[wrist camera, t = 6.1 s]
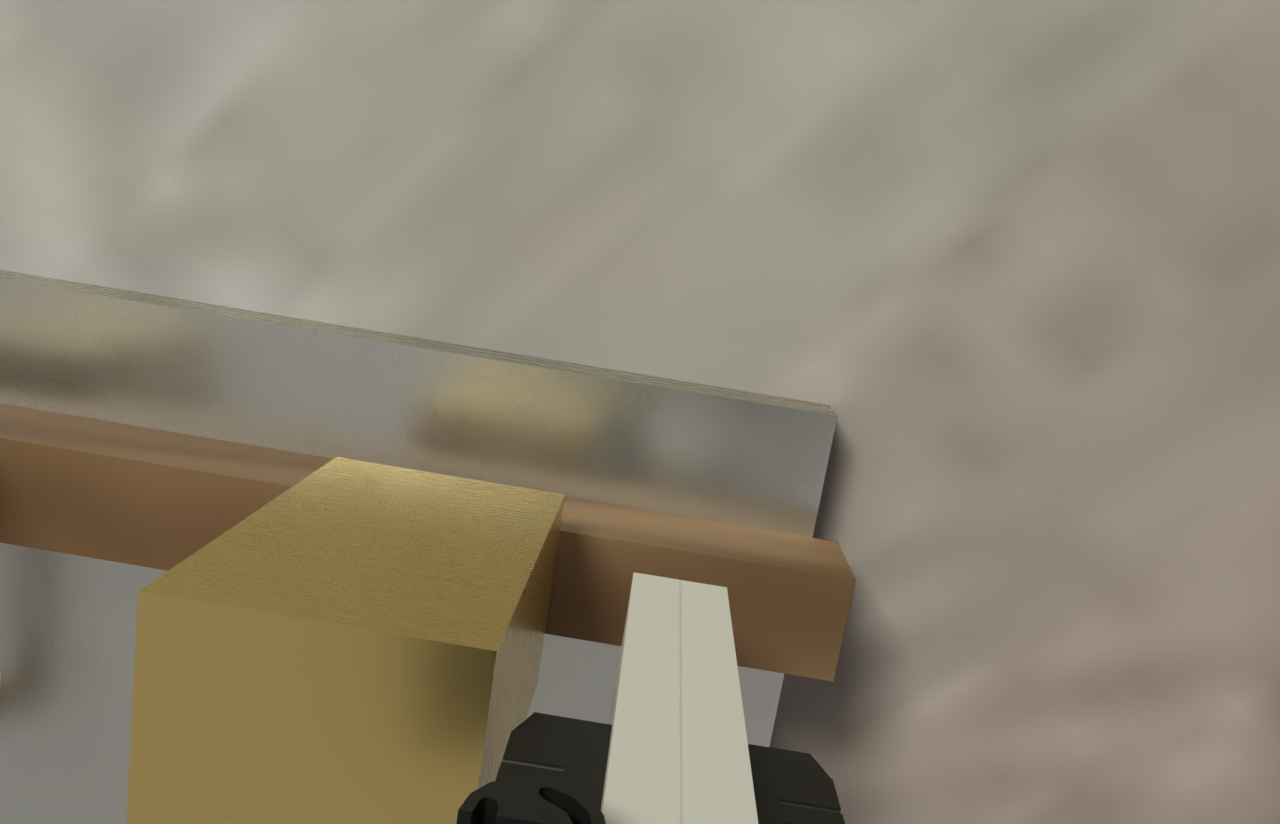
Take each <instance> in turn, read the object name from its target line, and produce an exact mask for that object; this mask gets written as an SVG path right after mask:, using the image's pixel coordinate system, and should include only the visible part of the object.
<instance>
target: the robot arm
mask: <svg viewBox="0 0 1280 824" xmlns="http://www.w3.org/2000/svg"><path fill="white" fill-rule="evenodd" d="M840 810H841V808H840V805H839V801H838V797H837V794H836V790H835V787H834V783H833V780H832V779H831V778H830V777H829V776H828V774H827V773H826V772H825V771H824V770H823V769H822V767H821V766H820V765H819V764H818V763H817V762H816V760H815V759H814V758H813V757H812V756H811V755H810V754H807V753H801V752H795V751H789V750H782V749H776V748H770V747H764V746H758V745H752V744H748V742H747V734H746V727H745V719H744V712H743V704H742V697H741V689H740V682H739V674H738V667H737V659H736V652H735V644H734V637H733V629H732V622H731V614H730V607H729V599H728V592H727V587H722V586H716V585H709V584H703V583H697V582H691V581H685V580H678V579H672V578H666V577H660V576H654V575H647V574H641V573H635V572H634V573H633V579H632V585H631V591H630V597H629V604H628V610H627V616H626V622H625V628H624V634H623V640H622V647H621V653H620V659H619V665H618V671H617V677H616V684H615V690H614V696H613V702H612V708H611V714H610V721H609V724H604V723H598V722H592V721H586V720H580V719H573V718H567V717H561V716H555V715H549V714H543V713H537V712H534V713H533V714H532V715H531V716H529V717H528V718H527V719H526V720H525V721H523V722H522V723H521V724H520V725H519V726H517V727H516V728H515V729H514V730H512V731H511V734H510V737H509V740H508V743H507V746H506V749H505V752H504V755H503V759H502V762H501V764H500V767H499V770H498V773H497V776H496V781H493V782H490V783H488V784H486V785H484V786H482V787H481V788H479V789H477V790H475V791H474V792H472V793H470V794H469V796H468V797H467V798H466V800H465V801H464V803H463V804H462V805H461V807H460V808H459V809H458V815H457V823H456V824H845V823H844V819H843V815H842V814H840Z"/></svg>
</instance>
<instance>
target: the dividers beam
mask: <svg viewBox="0 0 1280 824" xmlns="http://www.w3.org/2000/svg"><path fill="white" fill-rule="evenodd" d="M333 459H334V458H328V457H322V456H316V455H310V454H304V453H297V452H291V451H285V450H279V449H273V448H267V447H261V446H255V445H249V444H243V443H237V442H231V441H225V440H219V439H213V438H207V437H201V436H195V435H188V434H182V433H176V432H170V431H164V430H158V429H152V428H146V427H140V426H134V425H128V424H122V423H116V422H110V421H104V420H98V419H92V418H86V417H79V416H73V415H67V414H61V413H55V412H49V411H43V410H37V409H31V408H25V407H19V406H13V405H7V404H1V403H0V543H6V544H12V545H18V546H24V547H30V548H36V549H42V550H48V551H54V552H60V553H66V554H72V555H78V556H84V557H90V558H96V559H102V560H108V561H113V562H119V563H125V564H131V565H137V566H143V567H149V568H155V569H161V570H167V571H168V570H170V569H171V568H173V567H174V566H176V565H177V564H179V563H180V562H182V561H183V560H185V559H186V558H188V557H189V556H191V555H192V554H194V553H195V552H197V551H198V550H200V549H201V548H203V547H204V546H205V545H207V544H208V543H210V542H211V541H213V540H214V539H216V538H217V537H219V536H220V535H222V534H223V533H225V532H226V531H228V530H229V529H231V528H232V527H234V526H235V525H237V524H238V523H240V522H241V521H242V520H244V519H245V518H247V517H248V516H250V515H251V514H253V513H254V512H256V511H257V510H259V509H260V508H262V507H263V506H265V505H266V504H268V503H269V502H271V501H272V500H274V499H275V498H277V497H278V496H279V495H281V494H282V493H284V492H285V491H287V490H288V489H290V488H291V487H293V486H294V485H296V484H297V483H299V482H300V481H302V480H303V479H305V478H306V477H308V476H309V475H311V474H312V473H314V472H315V471H316V470H318V469H319V468H321V467H322V466H324V465H325V464H327V463H328V462H330V461H331V460H333ZM634 572H635V573H641V574H647V575H654V576H660V577H666V578H672V579H678V580H685V581H691V582H697V583H703V584H709V585H716V586H722V587H727V592H728V599H729V607H730V614H731V622H732V629H733V637H734V644H735V652H736V659H737V666H742V667H748V668H754V669H760V670H766V671H772V672H778V673H784V674H790V675H795V676H801V677H807V678H813V679H819V680H825V681H831V682H833V681H834V677H835V672H836V668H837V663H838V658H839V654H840V649H841V645H842V640H843V636H844V631H845V626H846V622H847V617H848V613H849V608H850V603H851V599H852V594H853V590H854V585H855V580H856V579H855V577H854V575H853V573H852V571H851V569H850V567H849V565H848V562H847V560H846V558H845V556H844V554H843V552H842V550H841V548H840V546H839V544H838V542H836V541H830V540H824V539H818V538H812V537H806V536H800V535H794V534H788V533H782V532H776V531H770V530H764V529H758V528H752V527H746V526H739V525H733V524H727V523H721V522H715V521H709V520H703V519H697V518H691V517H685V516H679V515H673V514H667V513H661V512H655V511H649V510H643V509H637V508H630V507H624V506H618V505H612V504H606V503H600V502H594V501H588V500H582V499H576V498H570V497H565V498H564V505H563V512H562V519H561V526H560V532H559V539H558V546H557V553H556V560H555V566H554V573H553V580H552V587H551V594H550V601H549V607H548V614H547V621H546V628H545V634H550V635H556V636H562V637H568V638H574V639H580V640H586V641H592V642H598V643H604V644H610V645H616V646H622V640H623V634H624V628H625V622H626V616H627V610H628V604H629V597H630V591H631V585H632V579H633V573H634Z"/></svg>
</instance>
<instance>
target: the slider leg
mask: <svg viewBox="0 0 1280 824" xmlns="http://www.w3.org/2000/svg"><path fill="white" fill-rule="evenodd" d="M564 498H565V494H559V493H553V492H547V491H541V490H535V489H529V488H523V487H517V486H510V485H504V484H498V483H492V482H486V481H480V480H474V479H468V478H462V477H456V476H450V475H444V474H438V473H432V472H426V471H420V470H414V469H408V468H401V467H395V466H389V465H383V464H377V463H371V462H365V461H359V460H353V459H347V458H341V457H336V458H334V459H333V460H331V461H330V462H328V463H327V464H325V465H324V466H322V467H321V468H319V469H318V470H316V471H315V472H314V473H312V474H311V475H309V476H308V477H306V478H305V479H303V480H302V481H300V482H299V483H297V484H296V485H294V486H293V487H291V488H290V489H288V490H287V491H285V492H284V493H282V494H281V495H279V496H278V497H277V498H275V499H274V500H272V501H271V502H269V503H268V504H266V505H265V506H263V507H262V508H260V509H259V510H257V511H256V512H254V513H253V514H251V515H250V516H248V517H247V518H245V519H244V520H242V521H241V522H240V523H238V524H237V525H235V526H234V527H232V528H231V529H229V530H228V531H226V532H225V533H223V534H222V535H220V536H219V537H217V538H216V539H214V540H213V541H211V542H210V543H208V544H207V545H205V546H204V547H203V548H201V549H200V550H198V551H197V552H195V553H194V554H192V555H191V556H189V557H188V558H186V559H185V560H183V561H182V562H180V563H179V564H177V565H176V566H174V567H173V568H171V569H170V570H168V571H167V572H166V573H164V574H163V575H161V576H160V577H158V578H157V579H155V580H154V581H152V582H151V583H149V584H148V585H146V586H145V587H143V588H142V589H140V590H139V591H138V599H137V619H136V639H135V659H134V679H133V700H132V720H131V740H130V760H129V780H128V800H127V820H126V824H456V823H457V815H458V809H459V808H460V807H461V805H462V804H463V803H464V801H465V800H466V798H467V797H468V796H469V794H470V793H472V792H474V791H475V790H477V789H479V788H481V787H482V786H484V785H486V784H488V783H490V782H493V781H496V776H497V773H498V770H499V767H500V764H501V762H502V759H503V755H504V752H505V749H506V746H507V743H508V740H509V737H510V734H511V731H512V730H514V729H515V728H516V727H517V726H519V725H520V724H521V723H522V722H523V721H525V720H526V718H527V715H528V712H529V709H530V705H531V702H532V699H533V696H534V693H535V690H536V686H537V682H538V675H539V669H540V662H541V655H542V648H543V641H544V635H545V628H546V621H547V614H548V607H549V601H550V594H551V587H552V580H553V573H554V566H555V560H556V553H557V546H558V539H559V532H560V526H561V519H562V512H563V505H564Z"/></svg>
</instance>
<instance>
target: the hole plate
mask: <svg viewBox="0 0 1280 824" xmlns="http://www.w3.org/2000/svg"><path fill="white" fill-rule="evenodd" d="M0 403H1V404H7V405H13V406H19V407H25V408H31V409H37V410H43V411H49V412H55V413H61V414H67V415H73V416H79V417H86V418H92V419H98V420H104V421H110V422H116V423H122V424H128V425H134V426H140V427H146V428H152V429H158V430H164V431H170V432H176V433H182V434H188V435H195V436H201V437H207V438H213V439H219V440H225V441H231V442H237V443H243V444H249V445H255V446H261V447H267V448H273V449H279V450H285V451H291V452H297V453H304V454H310V455H316V456H322V457H328V458H336V457H341V458H347V459H353V460H359V461H365V462H371V463H377V464H383V465H389V466H395V467H401V468H408V469H414V470H420V471H426V472H432V473H438V474H444V475H450V476H456V477H462V478H468V479H474V480H480V481H486V482H492V483H498V484H504V485H510V486H517V487H523V488H529V489H535V490H541V491H547V492H553V493H559V494H565V497H570V498H576V499H582V500H588V501H594V502H600V503H606V504H612V505H618V506H624V507H630V508H637V509H643V510H649V511H655V512H661V513H667V514H673V515H679V516H685V517H691V518H697V519H703V520H709V521H715V522H721V523H727V524H733V525H739V526H746V527H752V528H758V529H764V530H770V531H776V532H782V533H788V534H794V535H800V536H806V537H812V538H813V533H814V528H815V523H816V518H817V513H818V509H819V504H820V499H821V494H822V489H823V484H824V479H825V475H826V470H827V465H828V460H829V455H830V450H831V445H832V441H833V436H834V431H835V426H836V421H837V415H836V413H835V412H834V411H833V409H832V408H831V407H830V406H827V405H821V404H815V403H809V402H803V401H797V400H790V399H784V398H778V397H772V396H766V395H760V394H754V393H748V392H741V391H735V390H729V389H723V388H717V387H711V386H705V385H699V384H692V383H686V382H680V381H674V380H668V379H662V378H656V377H650V376H643V375H637V374H631V373H625V372H619V371H613V370H607V369H601V368H594V367H588V366H582V365H576V364H570V363H564V362H558V361H552V360H545V359H539V358H533V357H527V356H521V355H515V354H509V353H503V352H496V351H490V350H484V349H478V348H472V347H466V346H460V345H454V344H447V343H441V342H435V341H429V340H423V339H417V338H411V337H405V336H398V335H392V334H386V333H380V332H374V331H368V330H362V329H356V328H349V327H343V326H337V325H331V324H325V323H319V322H313V321H307V320H300V319H294V318H288V317H282V316H276V315H270V314H264V313H258V312H251V311H245V310H239V309H233V308H227V307H221V306H215V305H209V304H202V303H196V302H190V301H184V300H178V299H172V298H166V297H160V296H153V295H147V294H141V293H135V292H129V291H123V290H117V289H111V288H104V287H98V286H92V285H86V284H80V283H74V282H68V281H62V280H55V279H49V278H43V277H37V276H31V275H25V274H19V273H13V272H6V271H0ZM166 572H167V570H161V569H155V568H149V567H143V566H137V565H131V564H125V563H119V562H113V561H108V560H102V559H96V558H90V557H84V556H78V555H72V554H66V553H60V552H54V551H48V550H42V549H36V548H30V547H24V546H18V545H12V544H6V543H0V824H126V820H127V800H128V780H129V760H130V740H131V720H132V700H133V679H134V659H135V639H136V619H137V599H138V591H139V590H140V589H142V588H143V587H145V586H146V585H148V584H149V583H151V582H152V581H154V580H155V579H157V578H158V577H160V576H161V575H163V574H164V573H166ZM621 647H622V646H616V645H610V644H604V643H598V642H592V641H586V640H580V639H574V638H568V637H562V636H556V635H550V634H545V635H544V641H543V648H542V655H541V662H540V669H539V675H538V682H537V686H536V690H535V693H534V696H533V699H532V702H531V705H530V709H529V712H528V715H527V718H528V717H529V716H531V715H532V714H533V713H534V712H537V713H543V714H549V715H555V716H561V717H567V718H573V719H580V720H586V721H592V722H598V723H604V724H609V721H610V714H611V708H612V702H613V696H614V690H615V684H616V677H617V671H618V665H619V659H620V653H621ZM737 667H738V674H739V682H740V689H741V697H742V704H743V712H744V719H745V727H746V734H747V742H748V744H752V745H758V746H764V747H770V742H771V737H772V732H773V727H774V722H775V718H776V713H777V708H778V703H779V698H780V693H781V688H782V684H783V679H784V673H778V672H772V671H766V670H760V669H754V668H748V667H742V666H737ZM527 718H526V719H527Z"/></svg>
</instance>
